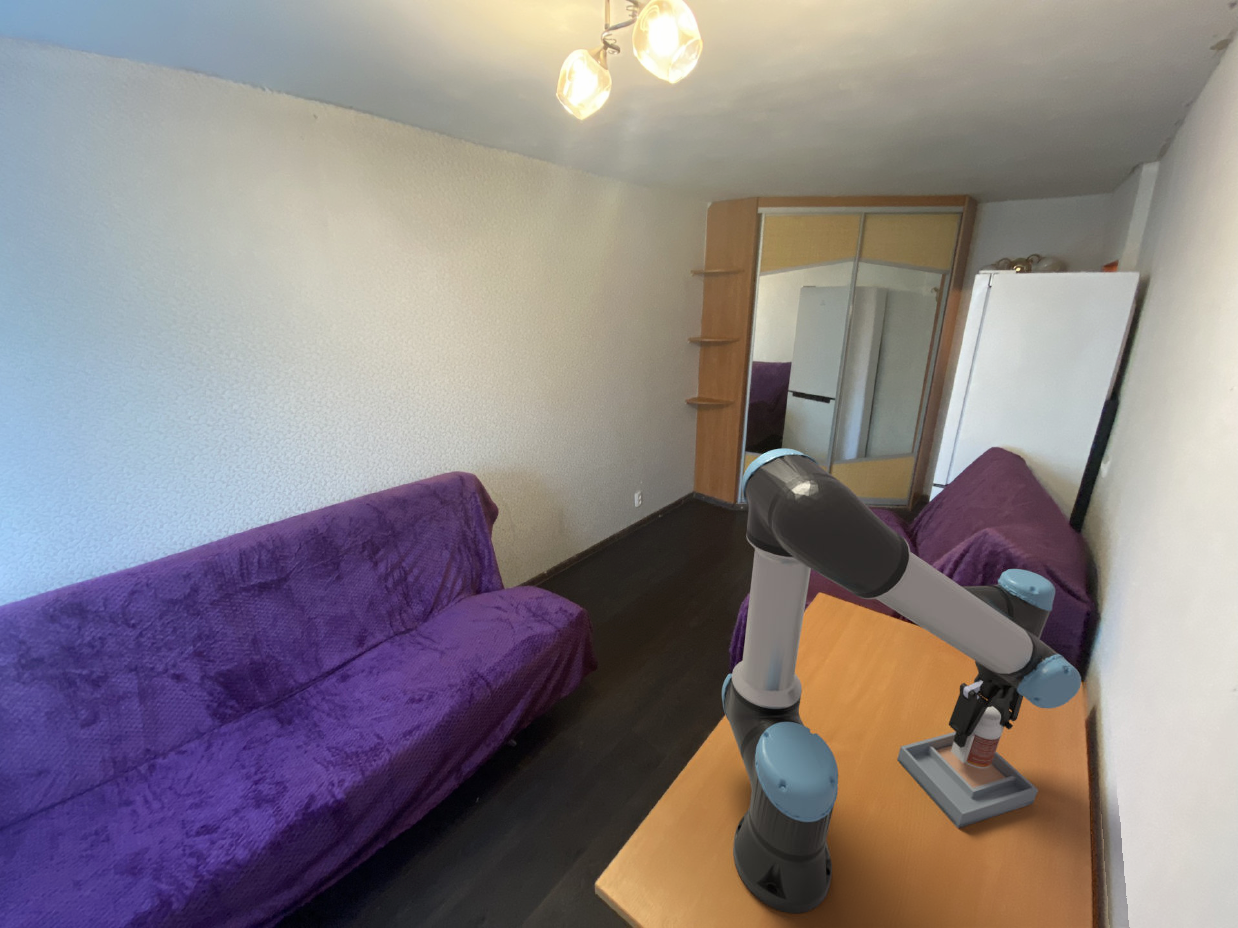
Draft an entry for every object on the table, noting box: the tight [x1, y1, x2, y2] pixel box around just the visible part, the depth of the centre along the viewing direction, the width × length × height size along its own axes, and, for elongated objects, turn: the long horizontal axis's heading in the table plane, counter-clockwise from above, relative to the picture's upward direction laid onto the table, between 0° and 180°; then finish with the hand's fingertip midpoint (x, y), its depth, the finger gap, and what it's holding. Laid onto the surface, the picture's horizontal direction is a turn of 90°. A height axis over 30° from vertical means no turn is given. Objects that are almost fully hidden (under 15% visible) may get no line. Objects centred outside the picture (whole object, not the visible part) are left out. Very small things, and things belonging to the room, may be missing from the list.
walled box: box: [896, 731, 1039, 829], centre depth 98 cm, size 17×14×4 cm
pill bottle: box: [965, 706, 1003, 769], centre depth 98 cm, size 6×6×11 cm
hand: (972, 752), depth 100 cm, fingers closed on pill bottle, 6 cm apart
